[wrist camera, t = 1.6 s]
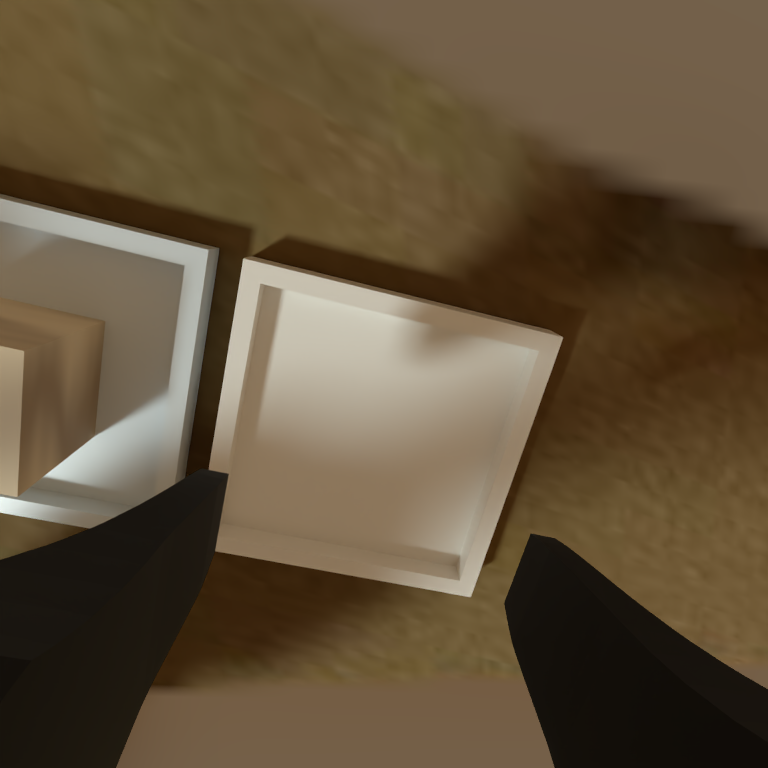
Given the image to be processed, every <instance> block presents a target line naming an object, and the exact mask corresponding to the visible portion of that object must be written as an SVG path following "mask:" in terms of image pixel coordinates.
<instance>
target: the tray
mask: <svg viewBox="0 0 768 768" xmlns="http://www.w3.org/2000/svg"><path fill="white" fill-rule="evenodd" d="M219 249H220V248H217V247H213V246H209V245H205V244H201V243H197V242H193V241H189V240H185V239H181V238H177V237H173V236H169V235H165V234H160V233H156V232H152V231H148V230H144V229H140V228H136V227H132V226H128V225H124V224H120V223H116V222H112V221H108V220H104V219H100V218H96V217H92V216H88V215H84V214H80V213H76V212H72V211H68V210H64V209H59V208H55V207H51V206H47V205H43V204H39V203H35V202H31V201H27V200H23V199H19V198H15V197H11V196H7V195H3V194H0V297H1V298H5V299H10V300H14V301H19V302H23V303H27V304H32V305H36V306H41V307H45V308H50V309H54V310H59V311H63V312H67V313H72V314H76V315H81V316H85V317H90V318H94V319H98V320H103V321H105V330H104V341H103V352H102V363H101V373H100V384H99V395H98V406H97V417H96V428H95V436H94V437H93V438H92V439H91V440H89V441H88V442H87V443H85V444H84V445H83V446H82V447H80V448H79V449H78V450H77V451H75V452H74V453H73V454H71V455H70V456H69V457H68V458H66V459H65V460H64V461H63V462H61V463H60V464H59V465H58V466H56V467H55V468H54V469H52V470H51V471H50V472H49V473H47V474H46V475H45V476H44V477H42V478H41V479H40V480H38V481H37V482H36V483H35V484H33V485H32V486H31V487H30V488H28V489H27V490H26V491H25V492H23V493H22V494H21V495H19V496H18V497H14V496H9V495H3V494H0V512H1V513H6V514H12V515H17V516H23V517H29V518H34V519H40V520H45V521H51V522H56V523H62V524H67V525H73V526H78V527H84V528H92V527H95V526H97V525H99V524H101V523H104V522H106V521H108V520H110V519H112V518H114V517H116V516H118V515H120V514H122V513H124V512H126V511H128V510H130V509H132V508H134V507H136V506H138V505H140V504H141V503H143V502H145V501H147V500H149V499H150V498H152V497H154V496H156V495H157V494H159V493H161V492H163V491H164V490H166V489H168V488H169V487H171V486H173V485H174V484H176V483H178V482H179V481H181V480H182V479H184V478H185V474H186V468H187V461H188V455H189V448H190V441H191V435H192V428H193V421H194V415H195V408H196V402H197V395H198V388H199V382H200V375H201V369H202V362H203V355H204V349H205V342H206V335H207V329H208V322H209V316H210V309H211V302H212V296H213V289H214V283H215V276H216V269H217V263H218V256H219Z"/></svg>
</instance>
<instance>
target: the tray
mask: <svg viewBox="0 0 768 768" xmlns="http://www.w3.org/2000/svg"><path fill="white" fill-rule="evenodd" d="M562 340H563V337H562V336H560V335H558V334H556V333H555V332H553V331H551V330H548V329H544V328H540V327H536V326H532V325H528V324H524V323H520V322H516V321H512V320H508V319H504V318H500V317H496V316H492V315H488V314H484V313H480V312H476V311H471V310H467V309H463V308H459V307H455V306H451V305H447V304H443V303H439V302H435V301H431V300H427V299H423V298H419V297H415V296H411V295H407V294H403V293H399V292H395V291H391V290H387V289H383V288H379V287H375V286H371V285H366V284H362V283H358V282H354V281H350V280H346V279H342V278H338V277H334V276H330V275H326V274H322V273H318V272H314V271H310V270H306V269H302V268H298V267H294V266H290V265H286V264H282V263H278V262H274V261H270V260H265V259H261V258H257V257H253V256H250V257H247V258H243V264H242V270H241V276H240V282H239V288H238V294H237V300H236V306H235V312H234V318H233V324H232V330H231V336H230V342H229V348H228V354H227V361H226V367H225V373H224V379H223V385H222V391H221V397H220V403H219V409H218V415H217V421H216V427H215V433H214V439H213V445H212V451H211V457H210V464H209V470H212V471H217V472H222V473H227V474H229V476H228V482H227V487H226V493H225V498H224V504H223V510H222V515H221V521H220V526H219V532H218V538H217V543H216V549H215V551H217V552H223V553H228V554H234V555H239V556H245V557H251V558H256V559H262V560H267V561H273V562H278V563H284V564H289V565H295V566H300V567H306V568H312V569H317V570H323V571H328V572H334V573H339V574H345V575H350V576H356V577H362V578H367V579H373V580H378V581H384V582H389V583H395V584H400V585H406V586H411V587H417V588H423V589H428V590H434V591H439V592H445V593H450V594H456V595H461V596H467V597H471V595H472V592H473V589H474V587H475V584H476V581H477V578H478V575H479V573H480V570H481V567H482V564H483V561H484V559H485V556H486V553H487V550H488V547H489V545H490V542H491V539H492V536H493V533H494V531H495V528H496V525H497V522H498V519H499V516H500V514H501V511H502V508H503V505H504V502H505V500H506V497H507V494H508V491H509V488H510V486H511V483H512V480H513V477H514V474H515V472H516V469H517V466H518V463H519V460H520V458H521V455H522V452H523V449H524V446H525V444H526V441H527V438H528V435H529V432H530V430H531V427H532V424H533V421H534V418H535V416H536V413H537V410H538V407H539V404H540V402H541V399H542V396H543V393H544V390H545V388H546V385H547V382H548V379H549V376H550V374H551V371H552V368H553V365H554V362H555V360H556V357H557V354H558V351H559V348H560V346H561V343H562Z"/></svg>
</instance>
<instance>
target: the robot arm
mask: <svg viewBox="0 0 768 768" xmlns="http://www.w3.org/2000/svg"><path fill="white" fill-rule="evenodd" d="M228 476H229V474H227V473H222V472H217V471H212V470H207V469H202V468H201V469H200V470H198V471H196V472H194V473H193V474H191V475H189V476H187V477H186V478H184V479H182V480H181V481H179V482H178V483H176V484H174V485H173V486H171V487H169V488H168V489H166V490H164V491H163V492H161V493H159V494H157V495H156V496H154V497H152V498H150V499H149V500H147V501H145V502H143V503H141V504H140V505H138V506H136V507H134V508H132V509H130V510H128V511H126V512H124V513H122V514H120V515H118V516H116V517H114V518H112V519H110V520H108V521H106V522H104V523H101V524H99V525H97V526H95V527H92V528H90V529H88V530H85V531H83V532H81V533H78V534H75V535H73V536H70V537H68V538H65V539H63V540H60V541H57V542H55V543H52V544H49V545H46V546H43V547H40V548H37V549H34V550H31V551H27V552H24V553H21V554H18V555H15V556H11V557H8V558H5V559H2V560H0V768H116V766H117V764H118V761H119V759H120V756H121V754H122V751H123V749H124V747H125V744H126V742H127V739H128V737H129V735H130V732H131V729H132V727H133V724H134V722H135V720H136V718H137V715H138V713H139V710H140V708H141V706H142V704H143V701H144V699H145V697H146V695H147V693H148V691H149V689H150V687H151V684H152V683H153V681H154V679H155V677H156V675H157V673H158V671H159V669H160V667H161V665H162V663H163V661H164V660H165V658H166V656H167V654H168V652H169V650H170V648H171V646H172V644H173V642H174V640H175V639H176V637H177V635H178V633H179V631H180V629H181V627H182V625H183V623H184V621H185V619H186V617H187V616H188V614H189V612H190V610H191V608H192V606H193V604H194V602H195V600H196V598H197V596H198V594H199V592H200V590H201V587H202V585H203V582H204V580H205V577H206V574H207V572H208V569H209V566H210V564H211V561H212V558H213V555H214V553H215V549H216V543H217V538H218V532H219V526H220V521H221V515H222V510H223V504H224V498H225V493H226V487H227V482H228ZM504 604H505V610H506V615H507V620H508V626H509V630H510V635H511V639H512V644H513V647H514V650H515V653H516V656H517V659H518V662H519V665H520V668H521V671H522V674H523V676H524V679H525V682H526V685H527V688H528V691H529V693H530V696H531V699H532V702H533V705H534V707H535V710H536V713H537V716H538V719H539V722H540V724H541V727H542V730H543V733H544V736H545V738H546V741H547V744H548V747H549V751H550V754H551V757H552V760H553V764H554V767H555V768H768V689H766V688H765V687H763V686H761V685H759V684H758V683H756V682H754V681H752V680H750V679H749V678H747V677H745V676H744V675H742V674H740V673H739V672H737V671H735V670H734V669H732V668H731V667H729V666H727V665H726V664H724V663H723V662H721V661H719V660H718V659H716V658H715V657H713V656H712V655H710V654H709V653H707V652H706V651H704V650H703V649H701V648H700V647H698V646H697V645H695V644H694V643H692V642H691V641H689V640H688V639H686V638H685V637H683V636H682V635H680V634H679V633H678V632H676V631H675V630H673V629H672V628H671V627H669V626H668V625H667V624H665V623H664V622H663V621H661V620H660V619H659V618H657V617H656V616H655V615H653V614H652V613H650V612H649V611H648V610H646V609H645V608H644V607H643V606H641V605H640V604H639V603H637V602H636V601H635V600H634V599H632V598H631V597H630V596H629V595H627V594H626V593H625V592H624V591H622V590H621V589H620V588H619V587H617V586H616V585H615V584H614V583H612V582H611V581H610V580H609V579H607V578H606V577H605V576H604V575H603V574H601V573H600V572H599V571H598V570H596V569H595V568H594V567H593V566H591V565H590V564H589V563H588V562H586V561H585V560H584V559H583V558H581V557H580V556H579V555H578V554H576V553H575V552H574V551H572V550H571V549H570V548H568V547H567V546H566V545H564V544H563V543H561V542H560V541H558V540H557V539H555V538H551V537H546V536H540V535H535V534H530V537H529V540H528V542H527V545H526V547H525V550H524V553H523V555H522V558H521V561H520V563H519V566H518V568H517V571H516V574H515V576H514V579H513V582H512V584H511V587H510V589H509V592H508V595H507V597H506V600H505V603H504Z"/></svg>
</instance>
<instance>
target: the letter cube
mask: <svg viewBox="0 0 768 768" xmlns="http://www.w3.org/2000/svg"><path fill="white" fill-rule="evenodd" d="M104 330H105V321H103V320H98V319H94V318H90V317H85V316H81V315H76V314H72V313H67V312H63V311H59V310H54V309H50V308H45V307H41V306H36V305H32V304H27V303H23V302H19V301H14V300H10V299H5V298H1V297H0V494H3V495H9V496H14V497H18V496H19V495H21V494H22V493H23V492H25V491H26V490H27V489H28V488H30V487H31V486H32V485H33V484H35V483H36V482H37V481H38V480H40V479H41V478H42V477H44V476H45V475H46V474H47V473H49V472H50V471H51V470H52V469H54V468H55V467H56V466H58V465H59V464H60V463H61V462H63V461H64V460H65V459H66V458H68V457H69V456H70V455H71V454H73V453H74V452H75V451H77V450H78V449H79V448H80V447H82V446H83V445H84V444H85V443H87V442H88V441H89V440H91V439H92V438H93V437H94V436H95V428H96V417H97V406H98V395H99V384H100V373H101V363H102V352H103V341H104Z"/></svg>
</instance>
